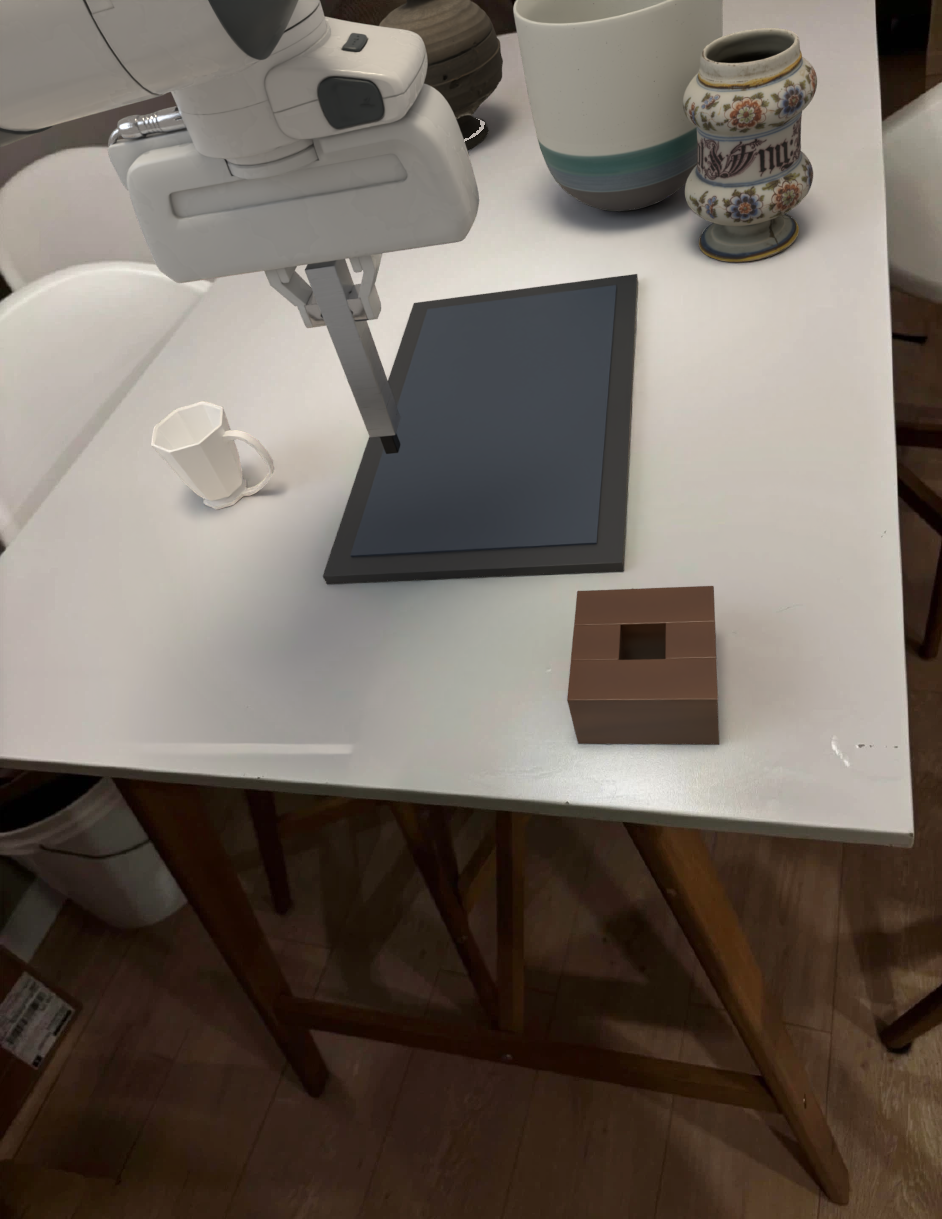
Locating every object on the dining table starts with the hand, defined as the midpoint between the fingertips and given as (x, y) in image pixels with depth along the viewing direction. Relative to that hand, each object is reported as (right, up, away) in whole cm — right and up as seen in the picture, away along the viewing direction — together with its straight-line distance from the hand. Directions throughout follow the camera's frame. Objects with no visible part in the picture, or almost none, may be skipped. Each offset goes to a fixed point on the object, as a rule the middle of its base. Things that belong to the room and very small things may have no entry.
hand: (345, 319), depth 57 cm
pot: (+6, +47, +68) cm, 84 cm away
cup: (-13, -8, +26) cm, 30 cm away
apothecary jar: (+37, +20, +35) cm, 54 cm away
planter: (+27, +29, +46) cm, 61 cm away
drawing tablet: (+11, -1, +24) cm, 27 cm away
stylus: (+2, -7, +8) cm, 11 cm away
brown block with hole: (+20, -24, +2) cm, 31 cm away
